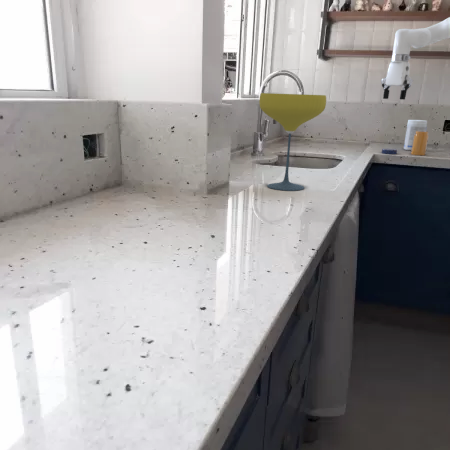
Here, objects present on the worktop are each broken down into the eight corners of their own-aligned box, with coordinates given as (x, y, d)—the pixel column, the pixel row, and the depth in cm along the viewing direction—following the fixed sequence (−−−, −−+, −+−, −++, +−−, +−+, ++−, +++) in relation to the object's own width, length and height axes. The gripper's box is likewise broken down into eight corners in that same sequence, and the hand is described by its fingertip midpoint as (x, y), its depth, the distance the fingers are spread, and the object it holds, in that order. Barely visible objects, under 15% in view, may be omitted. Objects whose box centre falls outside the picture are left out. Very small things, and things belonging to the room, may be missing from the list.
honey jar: (427, 154, 234) (431, 131, 229) (420, 155, 230) (425, 132, 225) (415, 153, 238) (419, 130, 234) (408, 154, 234) (412, 131, 230)
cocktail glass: (316, 195, 131) (327, 95, 121) (251, 190, 134) (256, 92, 124) (317, 184, 147) (326, 95, 138) (258, 180, 150) (263, 93, 140)
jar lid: (398, 154, 231) (399, 150, 230) (384, 154, 231) (385, 149, 230) (393, 152, 238) (394, 148, 237) (379, 152, 237) (380, 148, 236)
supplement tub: (426, 151, 250) (432, 120, 245) (413, 151, 247) (418, 120, 241) (412, 148, 258) (417, 119, 253) (399, 149, 254) (404, 119, 249)
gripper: (421, 59, 220) (414, 99, 227) (390, 60, 233) (384, 98, 240) (410, 58, 216) (404, 99, 223) (379, 59, 229) (374, 98, 236)
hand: (393, 99), depth 231 cm, fingers open, 9 cm apart
